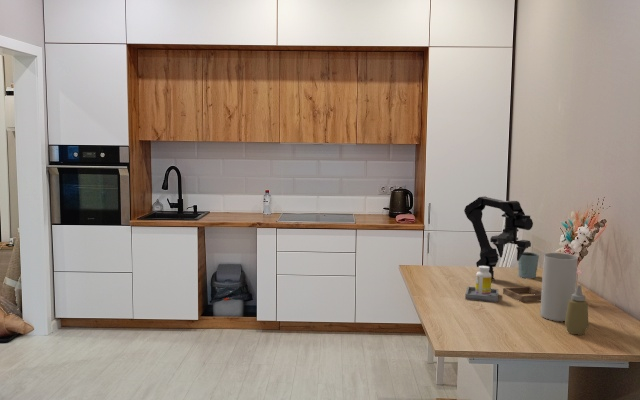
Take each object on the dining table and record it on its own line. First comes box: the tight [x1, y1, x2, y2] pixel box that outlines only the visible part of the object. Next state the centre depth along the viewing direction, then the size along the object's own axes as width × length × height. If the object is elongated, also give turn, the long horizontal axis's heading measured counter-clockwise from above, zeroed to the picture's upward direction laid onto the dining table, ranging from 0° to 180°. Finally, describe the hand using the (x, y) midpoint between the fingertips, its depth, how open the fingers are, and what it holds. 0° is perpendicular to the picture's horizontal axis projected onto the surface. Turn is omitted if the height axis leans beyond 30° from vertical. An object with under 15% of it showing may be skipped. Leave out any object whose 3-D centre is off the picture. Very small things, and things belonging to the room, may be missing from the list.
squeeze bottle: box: [564, 284, 590, 336], centre depth 216 cm, size 8×8×18 cm
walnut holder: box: [502, 286, 542, 303], centre depth 265 cm, size 14×14×2 cm
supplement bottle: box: [475, 266, 492, 296], centre depth 263 cm, size 7×7×13 cm
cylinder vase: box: [539, 252, 579, 323], centre depth 234 cm, size 12×12×25 cm
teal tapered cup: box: [517, 251, 540, 279], centre depth 302 cm, size 10×10×12 cm
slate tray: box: [464, 286, 499, 303], centre depth 264 cm, size 14×14×2 cm
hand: (509, 259), depth 283 cm, fingers open, 9 cm apart
